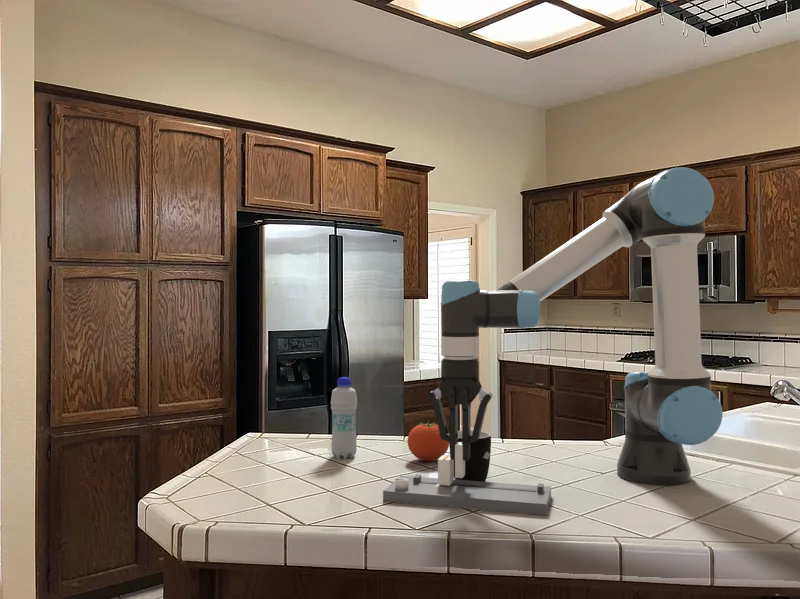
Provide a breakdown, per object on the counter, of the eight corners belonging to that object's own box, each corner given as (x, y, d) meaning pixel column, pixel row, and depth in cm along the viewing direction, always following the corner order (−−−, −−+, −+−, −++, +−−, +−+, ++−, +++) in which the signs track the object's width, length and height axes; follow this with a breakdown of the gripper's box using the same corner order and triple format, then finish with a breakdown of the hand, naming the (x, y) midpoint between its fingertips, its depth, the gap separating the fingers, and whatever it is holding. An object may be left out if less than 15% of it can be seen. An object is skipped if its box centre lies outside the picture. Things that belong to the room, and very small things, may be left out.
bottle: (362, 455, 167) (362, 376, 168) (346, 461, 162) (346, 379, 162) (341, 452, 171) (341, 374, 171) (325, 457, 165) (324, 377, 166)
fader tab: (453, 480, 135) (453, 455, 135) (449, 485, 131) (449, 459, 131) (442, 480, 135) (442, 454, 135) (438, 484, 132) (437, 458, 132)
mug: (488, 488, 137) (488, 439, 137) (445, 485, 140) (445, 437, 140) (495, 474, 149) (495, 428, 149) (455, 471, 151) (455, 427, 151)
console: (551, 496, 131) (551, 478, 131) (546, 515, 120) (546, 494, 120) (400, 485, 140) (400, 467, 140) (383, 501, 129) (383, 481, 129)
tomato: (458, 462, 160) (458, 420, 160) (424, 468, 155) (423, 425, 155) (432, 454, 169) (432, 414, 169) (399, 459, 163) (399, 418, 163)
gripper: (495, 357, 134) (495, 474, 134) (432, 355, 138) (432, 469, 138) (489, 360, 127) (489, 483, 127) (423, 358, 131) (423, 478, 131)
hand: (460, 476), depth 132 cm, fingers closed
